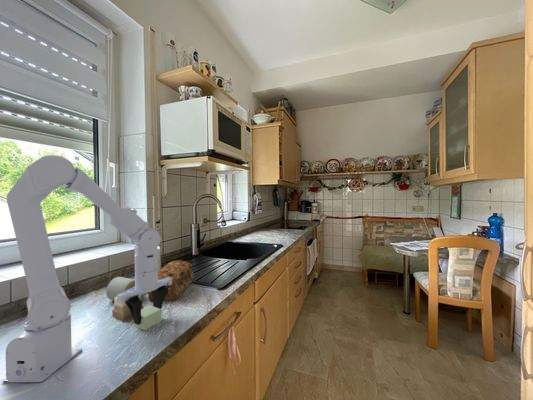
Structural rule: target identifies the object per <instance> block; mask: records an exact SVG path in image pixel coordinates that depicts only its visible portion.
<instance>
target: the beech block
mask: <svg viewBox="0 0 533 400" xmlns="http://www.w3.org/2000/svg"><path fill="white" fill-rule="evenodd" d="M138 298H140V299H141V295H140V296H138ZM113 302H114V303H113V304H114V308H113V309H115V310H117V311H119V312H121V313H125V312H127V311H130V310H129V308H128V306H127V305H126V304H125V302H124V303H122V304H121V303H118V302H117V297H114V300H113Z"/></svg>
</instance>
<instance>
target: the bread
mask: <svg viewBox="0 0 533 400" xmlns="http://www.w3.org/2000/svg"><path fill="white" fill-rule="evenodd" d="M193 275H194V266H193V264H191V263H190V262H188V261H185V260H183V259H182V260H181V259H179V260H171V261H170V262H168V263H166V264H165V265H164V266H163V267H162V266H161V269H160V270H158V280H160V279H164V278H167V277H168V278H172V285H169V286H168V285H167V286H166V288H168V293H167V295H166V297H165V299H164V301H165V302H175V301H177V300H178V299H179V297H181V296H182V295H183V293H184V292H185V291H186V290H187V289H188V288H189V286H191V284H192V283H193V278H194V276H193ZM146 294H147V297H148V301H151V302H153V297H152V293H151V292H148V293H146Z"/></svg>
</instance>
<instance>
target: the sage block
mask: <svg viewBox="0 0 533 400" xmlns="http://www.w3.org/2000/svg"><path fill="white" fill-rule="evenodd" d="M132 321H133V327H135V328H137V329H140V330H142V331H146V330H148V329H150V328H151V327H154V326H155V325H158V324H160V323H161V322H162V308H161V309H159V308H156V307H153V305H148V306H145V307H144V309H141V324H139V325H137V324H135V323H134V320H133V319H132Z"/></svg>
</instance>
